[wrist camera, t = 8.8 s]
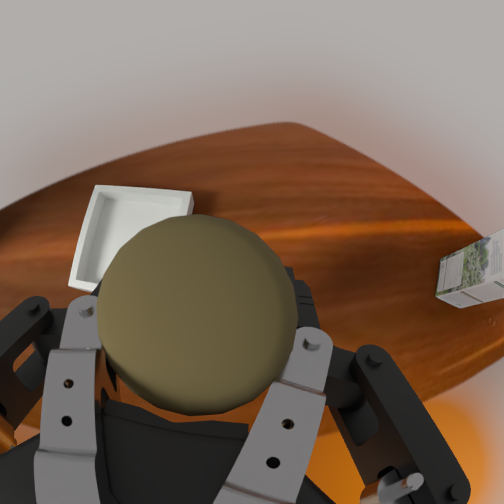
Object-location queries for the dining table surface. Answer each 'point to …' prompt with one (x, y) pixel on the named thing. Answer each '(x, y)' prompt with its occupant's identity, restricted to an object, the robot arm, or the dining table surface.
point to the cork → (197, 315)
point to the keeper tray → (119, 226)
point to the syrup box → (473, 273)
